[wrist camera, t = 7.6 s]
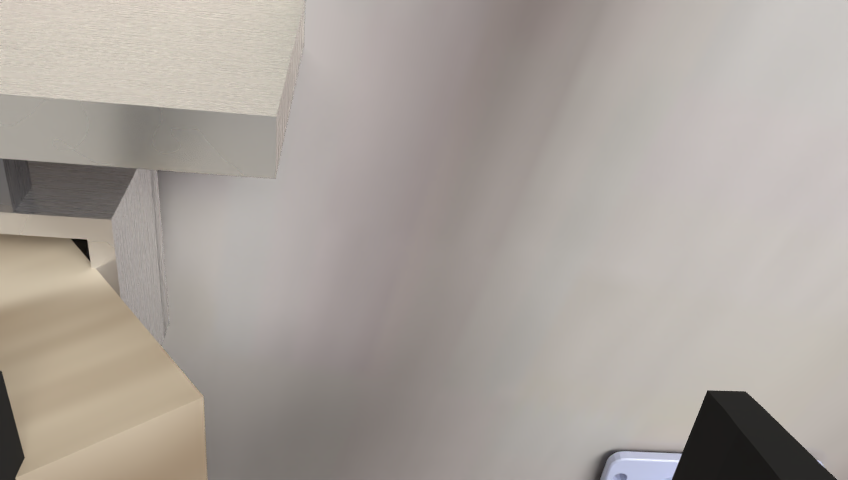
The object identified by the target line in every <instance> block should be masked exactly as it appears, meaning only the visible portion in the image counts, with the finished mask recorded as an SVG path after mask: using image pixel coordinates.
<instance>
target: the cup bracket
mask: <svg viewBox="0 0 848 480" xmlns="http://www.w3.org/2000/svg"><path fill="white" fill-rule="evenodd" d="M304 24H305V0H0V234H11V235H26V236H42V237H57V238H71V240H72V241H73V242H74V243H75V244H76V246H77V247H78V248H79V249H80V250H81V252H82V253H83V254H84V255H85V256H86V257H87V259H88V260H89V261H90V262H91V268H96V269H97V271H98V272H99V273H100V274H101V275H102V276H103V278H104V279H105V280H106V281H107V282H108V284H109V285H110V286H111V287H112V288H113V290H114V291H115V292H116V293H117V294H118V296H119V297H120V298H121V299H122V300H123V301H124V303H125V304H126V305H127V306H128V307H129V309H130V310H131V311H132V312H133V313H134V315H135V316H136V317H137V318H138V319H139V320H140V322H141V323H142V324H143V325H144V326H145V328H146V329H147V330H148V331H149V332H150V334H151V335H152V336H153V337H154V338H155V340H156V341H157V342H158V343H159V344H160V345H161V347H162V344H163V341H164V338H165V335H166V332H167V329H168V326H169V311H168V298H167V286H166V274H165V261H164V249H163V236H162V224H161V211H160V199H159V187H158V174H157V170H162V171H175V172H189V173H202V174H215V175H229V176H242V177H256V178H269V179H276V174H277V169H278V164H279V160H280V155H281V150H282V146H283V141H284V136H285V132H286V127H287V122H288V118H289V113H290V108H291V103H292V99H293V94H294V89H295V85H296V80H297V75H298V71H299V66H300V61H301V57H302V52H303V47H304Z"/></svg>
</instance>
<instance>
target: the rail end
mask: <svg viewBox="0 0 848 480" xmlns="http://www.w3.org/2000/svg"><path fill="white" fill-rule="evenodd" d="M0 371H2V374H3V378H4V381H5V385H6V389H7V393H8V397H9V400H10V404H11V408H12V412H13V415H14V419H15V423H16V427H17V430H18V434H19V438H20V442H21V446H22V449H23V453H24V457H25V458H24V460H23V463H22V465H21V467H20V469H19V471H18V473H17V475H16V478H15V479H16V480H207V459H206V438H205V416H204V397H203V395H202V394H201V393H200V392H199V391H198V389H197V388H196V387H195V386H194V385H193V384H192V382H191V381H190V380H189V379H188V378H187V376H186V375H185V374H184V373H183V372H182V370H181V369H180V368H179V367H178V366H177V365H176V363H175V362H174V361H173V360H172V359H171V357H170V356H169V355H168V354H167V353H166V351H165V350H164V349H163V348H162V347H161V345H160V344H159V343H158V342H157V341H156V340H155V338H154V337H153V336H152V335H151V334H150V332H149V331H148V330H147V329H146V328H145V326H144V325H143V324H142V323H141V322H140V320H139V319H138V318H137V317H136V316H135V315H134V313H133V312H132V311H131V310H130V309H129V307H128V306H127V305H126V304H125V303H124V301H123V300H122V299H121V298H120V297H119V296H118V294H117V293H116V292H115V291H114V290H113V288H112V287H111V286H110V285H109V284H108V282H107V281H106V280H105V279H104V278H103V276H102V275H101V274H100V273H99V272H98V271H97V269H96V268H91V262H90V261H89V260H88V259H87V257H86V256H85V255H84V254H83V253H82V252H81V250H80V249H79V248H78V247H77V246H76V244H75V243H74V242H73V241H72V240H71V238H57V237H42V236H26V235H11V234H0Z"/></svg>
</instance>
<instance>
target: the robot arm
mask: <svg viewBox="0 0 848 480" xmlns="http://www.w3.org/2000/svg"><path fill="white" fill-rule="evenodd" d="M24 458H25V457H24V453H23V449H22V446H21V442H20V438H19V434H18V430H17V427H16V423H15V419H14V415H13V412H12V408H11V404H10V400H9V397H8V393H7V389H6V385H5V381H4V378H3V374H2V371H0V480H16V479H15V478H16V475H17V473H18V471H19V469H20V467H21V465H22V463H23V460H24ZM600 480H837V479H836V478H835V477H834V476H833V475H832V474H830V473H829V472H828V471H827V470H826V469H825V467H824V466H823V464H822V462H820V461H819V460H816V459H815V458H814V457H813V456H812V455H811V454H810V453H809V452H808V451H807V450H806V449H805V448H804V447H803V446H802V445H801V444H800V443H799V442H798V441H797V440H796V439H795V438H794V437H792V436H791V435H790V434H789V433H788V432H787V431H786V430H785V429H784V428H783V427H782V426H781V425H780V424H779V423H778V422H777V421H776V420H775V419H774V418H773V417H772V416H771V415H770V414H769V413H768V412H767V411H766V410H765V409H764V408H763V407H762V406H761V405H760V404H758V403H757V402H756V401H755V400H754V399H753V398H752V397H751V396H750V395H749V394H748V393H746V392H742V391H707V393H706V396H705V398H704V401H703V403H702V406H701V408H700V411H699V413H698V416H697V418H696V421H695V423H694V425H693V428H692V430H691V433H690V435H689V438H688V440H687V443H686V445H685V448H684V450H683V453H682V454H679V453H655V452H632V451H620V452H616V453H614V454H612V455H611V456H610V457H609V458H608V460H607V462H606V465H605V468H604V470H603V473H602V476H601V479H600Z"/></svg>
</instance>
